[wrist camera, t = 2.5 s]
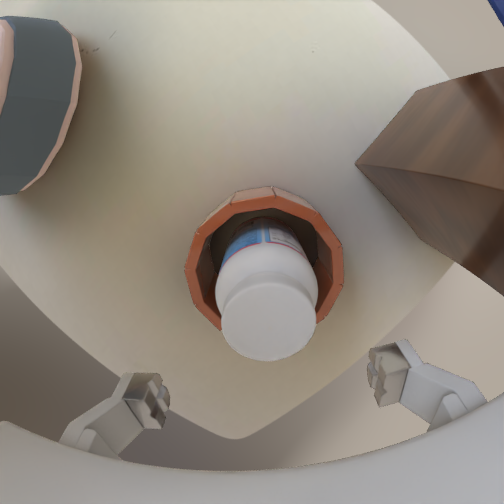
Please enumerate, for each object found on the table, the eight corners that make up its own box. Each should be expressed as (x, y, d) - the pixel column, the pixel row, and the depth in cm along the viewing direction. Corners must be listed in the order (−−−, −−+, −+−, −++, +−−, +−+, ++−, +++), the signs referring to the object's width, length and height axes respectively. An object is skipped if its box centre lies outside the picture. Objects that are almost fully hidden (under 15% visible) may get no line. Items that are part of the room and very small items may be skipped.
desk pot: (319, 179, 22) (337, 186, 16) (329, 296, 25) (344, 329, 20) (190, 199, 22) (169, 213, 17) (216, 311, 26) (206, 348, 21)
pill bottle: (234, 287, 25) (219, 376, 14) (222, 220, 23) (191, 277, 12) (302, 278, 24) (330, 364, 14) (296, 210, 22) (329, 259, 12)
